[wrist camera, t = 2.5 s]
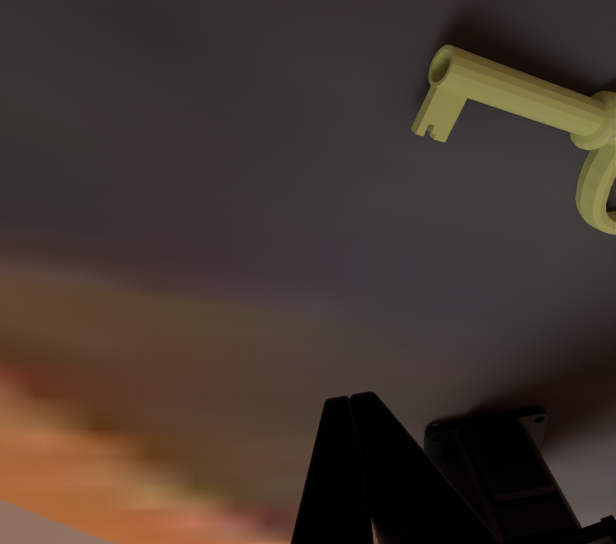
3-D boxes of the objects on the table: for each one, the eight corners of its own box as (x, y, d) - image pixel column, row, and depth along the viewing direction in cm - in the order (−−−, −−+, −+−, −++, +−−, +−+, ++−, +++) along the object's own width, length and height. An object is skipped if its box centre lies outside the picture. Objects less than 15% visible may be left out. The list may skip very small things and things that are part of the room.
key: (409, 33, 16) (430, 49, 14) (764, 30, 17) (824, 44, 15) (384, 232, 20) (399, 263, 18) (671, 217, 21) (710, 245, 20)
